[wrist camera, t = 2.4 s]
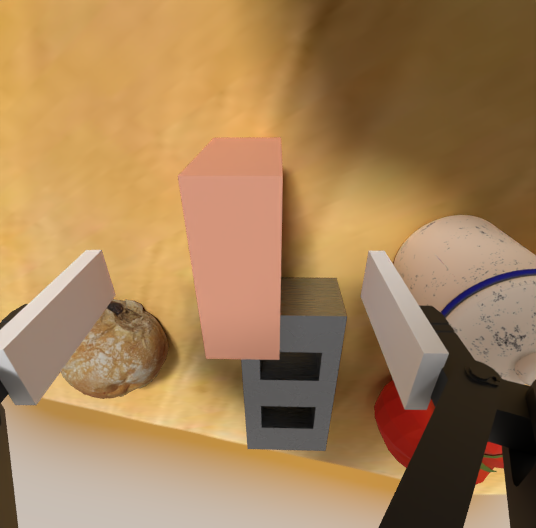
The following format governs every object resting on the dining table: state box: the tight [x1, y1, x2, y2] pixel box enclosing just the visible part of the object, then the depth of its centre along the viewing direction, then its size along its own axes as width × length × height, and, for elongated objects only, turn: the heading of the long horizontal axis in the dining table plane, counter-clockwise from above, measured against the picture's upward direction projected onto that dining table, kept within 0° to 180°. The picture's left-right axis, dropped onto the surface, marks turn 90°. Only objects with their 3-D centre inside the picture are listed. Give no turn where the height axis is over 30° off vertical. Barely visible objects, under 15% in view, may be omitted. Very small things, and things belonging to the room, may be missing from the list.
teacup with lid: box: [393, 215, 536, 386], centre depth 21 cm, size 12×9×12 cm
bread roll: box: [61, 299, 169, 399], centre depth 30 cm, size 10×10×8 cm
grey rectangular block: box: [241, 278, 347, 451], centre depth 30 cm, size 18×8×5 cm, turn 0°
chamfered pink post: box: [178, 137, 283, 360], centre depth 19 cm, size 10×4×11 cm, turn 0°
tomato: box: [374, 380, 504, 485], centre depth 31 cm, size 14×13×9 cm
